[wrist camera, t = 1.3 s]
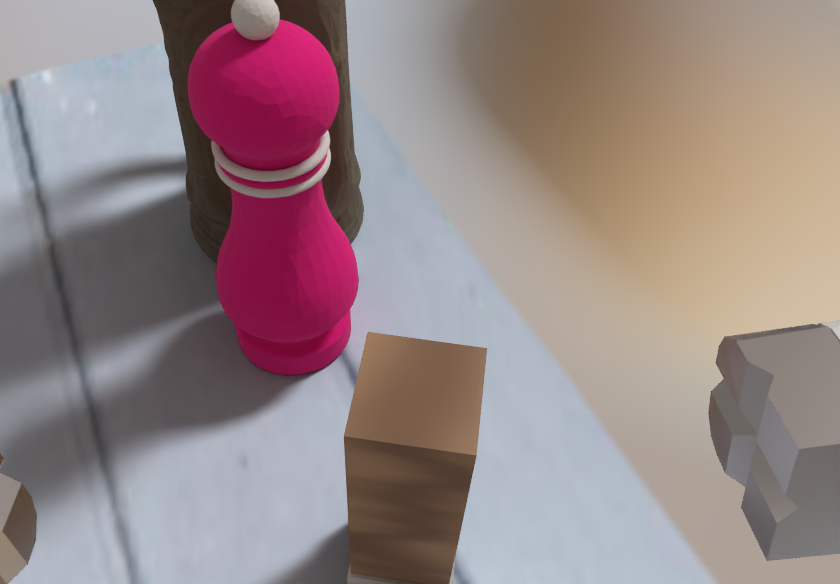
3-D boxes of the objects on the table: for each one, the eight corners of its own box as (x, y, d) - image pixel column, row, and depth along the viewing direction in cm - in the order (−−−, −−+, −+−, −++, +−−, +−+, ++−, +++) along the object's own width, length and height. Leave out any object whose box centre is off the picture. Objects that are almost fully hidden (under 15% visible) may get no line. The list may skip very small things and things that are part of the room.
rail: (348, 601, 34) (338, 439, 23) (366, 509, 36) (364, 327, 26) (446, 617, 33) (480, 460, 23) (456, 523, 36) (491, 345, 26)
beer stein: (394, 258, 47) (392, -86, 33) (219, 308, 44) (133, -48, 30) (313, 126, 57) (285, -184, 42) (165, 159, 54) (81, -164, 39)
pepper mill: (303, 407, 40) (260, 73, 25) (201, 341, 42) (105, 0, 27) (385, 319, 44) (391, -14, 29) (287, 264, 46) (245, -71, 31)
